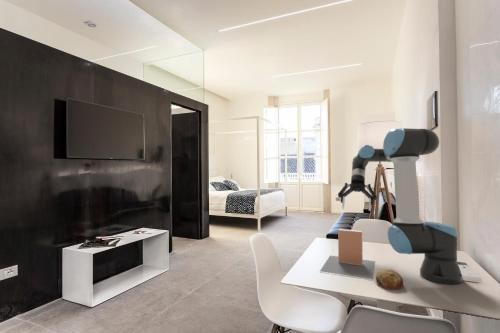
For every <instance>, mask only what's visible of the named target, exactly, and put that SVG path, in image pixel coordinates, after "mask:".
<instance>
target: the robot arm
mask: <svg viewBox="0 0 500 333" xmlns="http://www.w3.org/2000/svg"><path fill="white" fill-rule="evenodd" d="M439 145H440V139H439V136H438V134H437V133H435V132H434V131H433V130H432V129H427V128H403V127H401V128H392V129H391V130H389V131H388V132H387V133H386V135H385V137H384V140H383V144H382V146H383V148H374V147H373V146H372V145H369V144H364V145H362V146H361V147H360V148H359V150H358V153H357V155H356V156H354V157H353V159H352V161H351V162H352V163H351V179H350V183H347V182H345V183H344V185H343V187H342V188H341V189H340V191H339V192H338V194H337V197H338V198H340V203H341V205H342V206H341V207H342V209H345V201H346V197H347V196H349V195H350V194H351V193H353V192H357V193H358V192H359V193H360V192H361V193H362V194H363V195H365V196H366V197H367V198H368V200H369V201H368V212H369V211H370V212H371V207H372V206H373V205H374V201H377V198H378V197H377V195H376V193H375V191H374V190H373V188H372V186H371V183H368V184H366V183H365V181H366V169H367V168H366V167H367V165H368V164H369V162H371V163H373V162H375V163H376V162H378V163H379V162H380V163H381V162H387V163H391V162H392V163H393V176H394V196H395V212H396V217H395V218H394V219H393V220H392V225H390V226H389V227H388V229H387V238H388V242H389V244H390V246H391V247H392V249H393V251H395V252H396V253H398V254H401V255H402V254H405V255H406V254H407V255H412V254H414V255H417V254H419V255H420V254H421V255H422V254H424V257H423V260H422V263H421V267H420V268H419V274H420V276H421V277H422V278H423V279H426V280H428V281H430V282H431V281H432V282H434V283H439V284H446V285H458V284H459V285H460V284H462V283H463V274H462V271H461V268H460V266H459V264H458V248H457V247H458V234H457V233H458V232H457V229H456V227H455V226H452V225H450V224H446V223H440V222H433V221H423V220H422V219H421V218H420V210H419V207H420V206H419V194H418V178H417V162H418V160H419V159H420V156H425V155H426V156H427V155H429V154H433V153H434V152H435V151H437V149H438V148H439V147H440V146H439ZM348 188H349V189H348ZM366 189H367V190H366Z"/></svg>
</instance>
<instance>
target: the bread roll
mask: <svg viewBox="0 0 500 333" xmlns="http://www.w3.org/2000/svg"><path fill="white" fill-rule="evenodd" d="M375 282H376V285H377V286H379V287H382V288H384V289H386V290H394V291H396V290H400V289H402V288H403V287H404V280H403V277H402V276H401V274H399V273H398V272H397V271H395V270H393V269H390V268H389V269H388V268H384V269H381V270H379V271H377V273H376V275H375Z"/></svg>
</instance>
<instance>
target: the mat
mask: <svg viewBox="0 0 500 333" xmlns="http://www.w3.org/2000/svg"><path fill="white" fill-rule="evenodd" d="M375 263H376V260H369V259H363V265H355V264H347V263H340V262H338V256H337V255H329V257H327V260H326V261H325V263H324V264H323V266H322V267H321V268H320V270H319V273H322V274H323V273H326V274H328V275H330V274H332V275H333V276H336V275H339V277H340V276H342V277H343V276H345V277H348V278H349V277H352V279H353V278H355V279H356V278H358V279H360V280H362V279H364V280H367V281H368V280H371V281H374V275H375V274H374V273H375V265H376V264H375Z"/></svg>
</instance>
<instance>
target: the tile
mask: <svg viewBox="0 0 500 333" xmlns="http://www.w3.org/2000/svg"><path fill="white" fill-rule="evenodd" d="M337 233H338V239H337V240H338V244H337V245H338V251H337V252H338V262H340V263H347V264H355V265H363V260H364V259H363V258H364V256H363V251H364V249H363V246H364V245H363V243H364V242H363V240H364V239H363V236H364V234H363V230H356V229H346V228H345V229H344V228H338V232H337Z"/></svg>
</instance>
